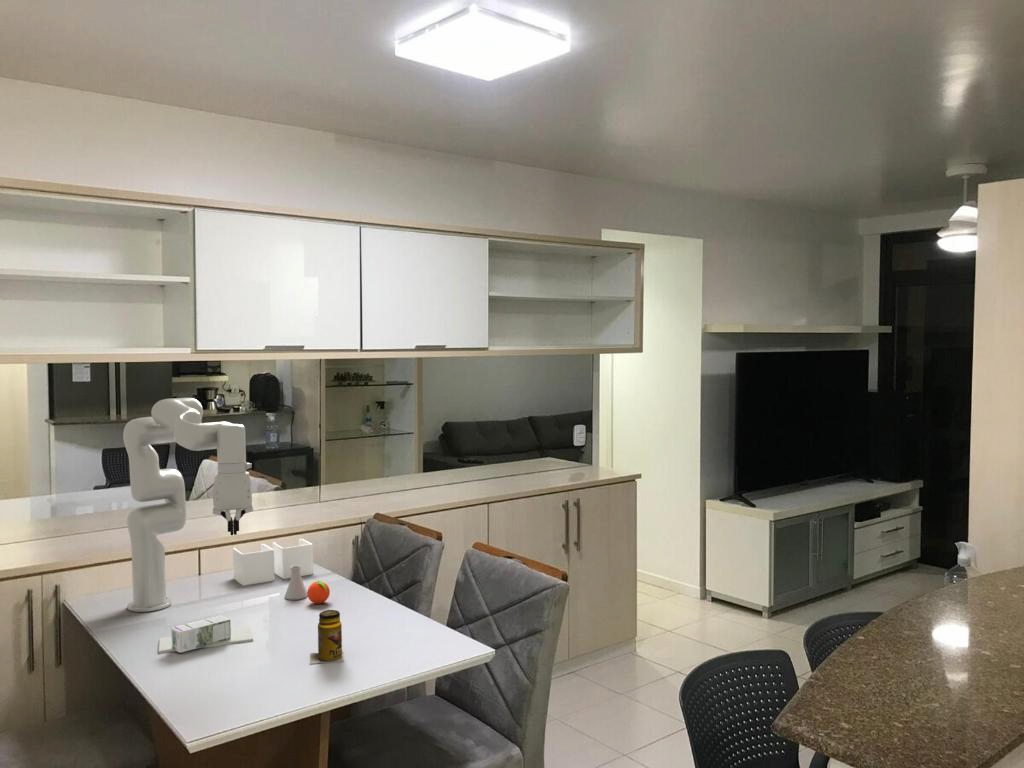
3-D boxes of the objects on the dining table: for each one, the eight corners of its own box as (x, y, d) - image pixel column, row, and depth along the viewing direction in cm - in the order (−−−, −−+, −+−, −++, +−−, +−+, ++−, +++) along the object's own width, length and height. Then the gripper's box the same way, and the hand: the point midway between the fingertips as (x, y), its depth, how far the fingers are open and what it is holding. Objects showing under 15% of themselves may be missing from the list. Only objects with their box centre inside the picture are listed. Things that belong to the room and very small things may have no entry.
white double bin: (242, 586, 286) (242, 554, 286) (233, 579, 295) (232, 548, 295) (313, 574, 300) (312, 544, 300) (302, 568, 309) (301, 538, 309)
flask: (280, 599, 270) (279, 568, 270) (294, 593, 277) (293, 563, 276) (298, 601, 267) (298, 570, 267) (312, 595, 274) (311, 565, 274)
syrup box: (221, 614, 235) (169, 627, 225) (231, 619, 231) (179, 632, 220) (221, 634, 235) (170, 648, 225) (231, 639, 231) (179, 653, 221)
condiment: (343, 661, 216) (343, 615, 215) (309, 664, 214) (309, 618, 213) (343, 651, 223) (342, 607, 222) (310, 654, 221) (309, 609, 220)
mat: (160, 639, 233) (160, 637, 233) (250, 628, 242) (250, 626, 242) (158, 653, 223) (158, 650, 223) (253, 641, 231) (253, 638, 231)
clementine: (336, 603, 265) (335, 581, 264) (317, 608, 260) (317, 586, 259) (321, 598, 270) (321, 576, 270) (303, 603, 265) (302, 581, 265)
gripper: (259, 465, 239) (260, 529, 240) (203, 468, 234) (204, 533, 235) (261, 468, 232) (262, 534, 233) (203, 472, 227) (205, 539, 228)
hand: (233, 533), depth 234 cm, fingers closed
